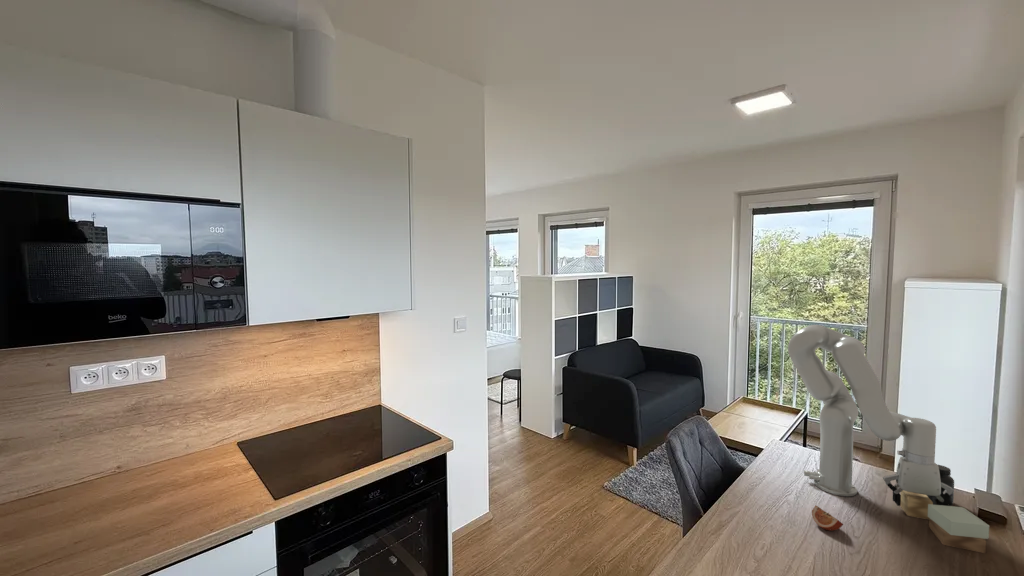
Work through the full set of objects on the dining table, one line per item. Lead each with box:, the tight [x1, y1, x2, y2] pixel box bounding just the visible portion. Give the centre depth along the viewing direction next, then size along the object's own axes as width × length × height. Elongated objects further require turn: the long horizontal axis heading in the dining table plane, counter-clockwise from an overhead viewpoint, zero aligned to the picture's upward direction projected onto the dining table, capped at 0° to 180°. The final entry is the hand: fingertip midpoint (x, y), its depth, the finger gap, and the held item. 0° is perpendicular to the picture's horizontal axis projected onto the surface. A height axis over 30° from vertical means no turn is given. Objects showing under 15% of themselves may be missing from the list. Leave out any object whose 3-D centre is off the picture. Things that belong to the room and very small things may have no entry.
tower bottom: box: [928, 518, 987, 554], centre depth 126 cm, size 9×9×4 cm
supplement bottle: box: [927, 464, 955, 506], centre depth 145 cm, size 7×7×12 cm
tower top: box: [928, 504, 990, 540], centre depth 126 cm, size 9×9×4 cm
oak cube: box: [899, 490, 933, 521], centre depth 139 cm, size 6×6×6 cm
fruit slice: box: [811, 505, 844, 532], centre depth 132 cm, size 8×7×5 cm
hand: (916, 507), depth 139 cm, fingers open, 9 cm apart
